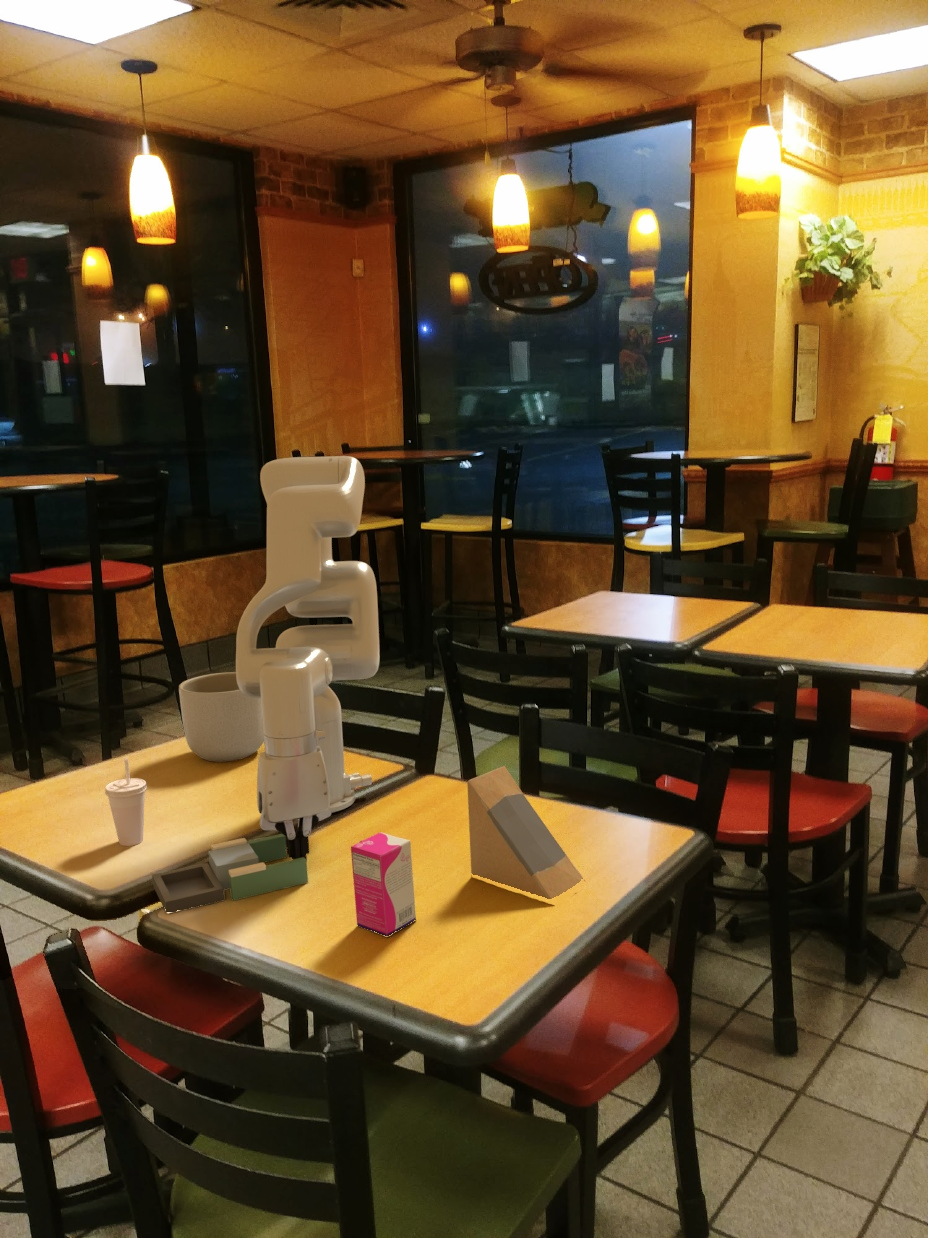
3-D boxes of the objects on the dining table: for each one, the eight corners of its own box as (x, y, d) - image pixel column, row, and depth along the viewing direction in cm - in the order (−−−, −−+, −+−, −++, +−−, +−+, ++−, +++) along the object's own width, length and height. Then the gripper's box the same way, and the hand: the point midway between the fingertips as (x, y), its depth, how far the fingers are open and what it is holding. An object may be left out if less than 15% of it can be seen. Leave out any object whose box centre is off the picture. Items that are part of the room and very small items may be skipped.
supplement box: (384, 909, 140) (380, 830, 137) (417, 921, 136) (413, 840, 134) (354, 926, 135) (349, 844, 133) (387, 939, 132) (382, 855, 129)
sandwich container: (555, 908, 138) (553, 803, 136) (469, 879, 148) (466, 780, 146) (591, 886, 145) (590, 785, 142) (506, 859, 155) (503, 764, 152)
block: (250, 868, 155) (248, 843, 154) (260, 883, 149) (258, 857, 149) (210, 876, 152) (208, 851, 152) (219, 892, 147) (216, 866, 146)
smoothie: (139, 850, 162) (130, 766, 159) (102, 848, 163) (93, 764, 161) (159, 834, 168) (151, 753, 166) (123, 832, 170) (115, 751, 167)
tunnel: (284, 854, 159) (282, 829, 158) (308, 882, 148) (306, 856, 148) (213, 870, 154) (211, 844, 153) (233, 900, 144) (230, 873, 143)
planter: (245, 736, 220) (240, 667, 217) (286, 754, 207) (281, 681, 204) (171, 754, 209) (164, 682, 207) (208, 774, 197) (202, 698, 194)
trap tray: (208, 874, 153) (207, 862, 152) (224, 900, 144) (223, 888, 144) (153, 886, 149) (152, 874, 149) (166, 914, 140) (165, 902, 140)
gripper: (330, 728, 157) (337, 840, 160) (233, 744, 150) (243, 861, 154) (347, 741, 150) (354, 858, 154) (246, 759, 144) (256, 880, 147)
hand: (298, 859), depth 154 cm, fingers closed
